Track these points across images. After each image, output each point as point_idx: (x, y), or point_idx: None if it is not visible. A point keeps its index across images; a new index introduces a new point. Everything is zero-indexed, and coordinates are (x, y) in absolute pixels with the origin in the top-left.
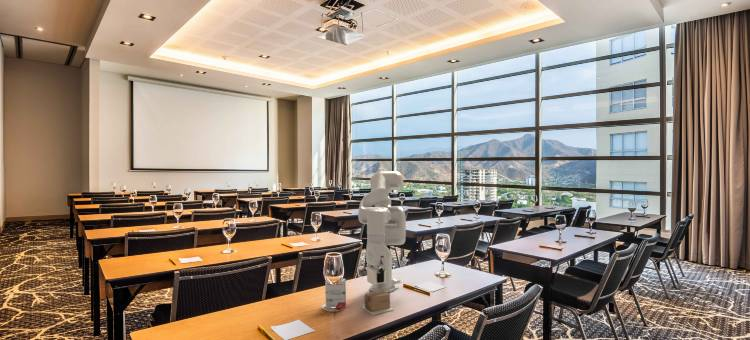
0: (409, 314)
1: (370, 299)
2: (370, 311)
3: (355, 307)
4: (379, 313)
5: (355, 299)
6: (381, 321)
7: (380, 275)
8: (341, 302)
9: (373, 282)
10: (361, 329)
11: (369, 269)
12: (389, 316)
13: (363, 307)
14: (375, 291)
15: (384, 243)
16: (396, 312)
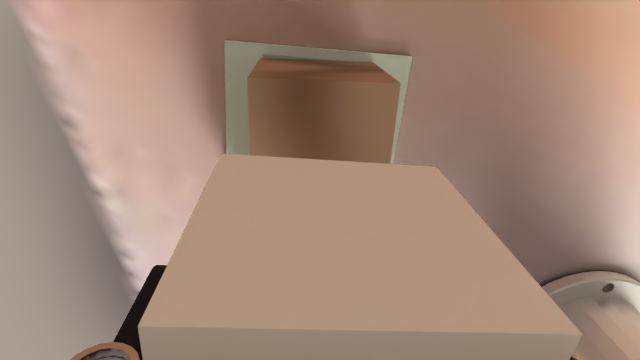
0: (119, 246)
1: (272, 74)
2: (281, 58)
3: (447, 15)
4: (227, 102)
5: (579, 109)
6: (75, 27)
7: (123, 338)
8: None
9: (220, 168)
10: None
11: (409, 312)
12: (143, 130)
13: (387, 59)
14: (565, 281)
15: None
16: (188, 204)
